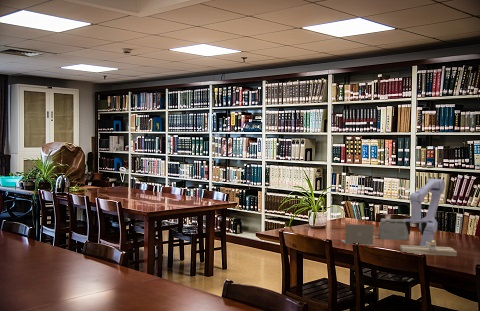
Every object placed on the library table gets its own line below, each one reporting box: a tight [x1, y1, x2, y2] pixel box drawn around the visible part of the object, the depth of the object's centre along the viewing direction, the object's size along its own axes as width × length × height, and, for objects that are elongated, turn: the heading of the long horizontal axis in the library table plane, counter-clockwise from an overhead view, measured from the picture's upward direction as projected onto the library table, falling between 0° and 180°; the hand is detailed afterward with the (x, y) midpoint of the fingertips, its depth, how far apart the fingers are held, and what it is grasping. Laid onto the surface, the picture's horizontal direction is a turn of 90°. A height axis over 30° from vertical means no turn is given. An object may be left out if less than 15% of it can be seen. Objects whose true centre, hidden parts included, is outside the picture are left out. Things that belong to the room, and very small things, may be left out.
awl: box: [430, 239, 437, 251], centre depth 303 cm, size 3×3×8 cm
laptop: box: [340, 224, 374, 245], centre depth 334 cm, size 18×12×13 cm
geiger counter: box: [373, 218, 410, 241], centre depth 347 cm, size 14×6×25 cm
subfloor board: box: [399, 244, 458, 257], centre depth 307 cm, size 13×30×3 cm, turn 82°
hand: (415, 234), depth 314 cm, fingers open, 7 cm apart
